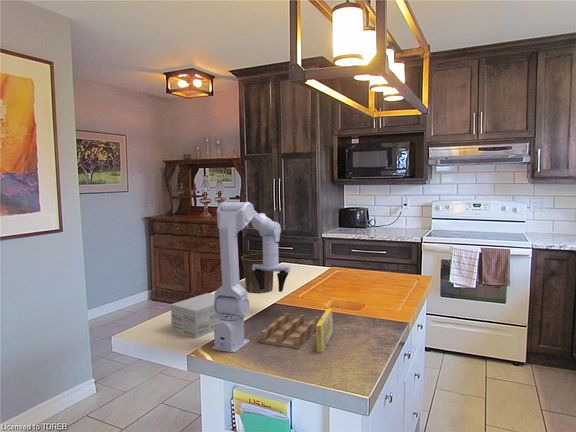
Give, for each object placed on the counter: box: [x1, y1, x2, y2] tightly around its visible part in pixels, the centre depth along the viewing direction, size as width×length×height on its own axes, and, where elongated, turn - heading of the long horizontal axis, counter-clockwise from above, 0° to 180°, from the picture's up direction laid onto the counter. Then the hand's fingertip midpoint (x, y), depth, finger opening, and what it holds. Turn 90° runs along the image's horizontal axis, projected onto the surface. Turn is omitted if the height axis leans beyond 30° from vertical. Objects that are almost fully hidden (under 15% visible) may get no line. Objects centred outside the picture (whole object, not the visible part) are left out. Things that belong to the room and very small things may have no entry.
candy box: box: [315, 308, 334, 353], centre depth 124 cm, size 16×2×8 cm, turn 163°
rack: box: [260, 312, 321, 349], centre depth 131 cm, size 20×12×4 cm, turn 157°
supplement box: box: [170, 292, 220, 339], centre depth 140 cm, size 17×13×9 cm
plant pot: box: [240, 252, 275, 294], centre depth 185 cm, size 16×16×16 cm
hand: (271, 290), depth 148 cm, fingers open, 7 cm apart
